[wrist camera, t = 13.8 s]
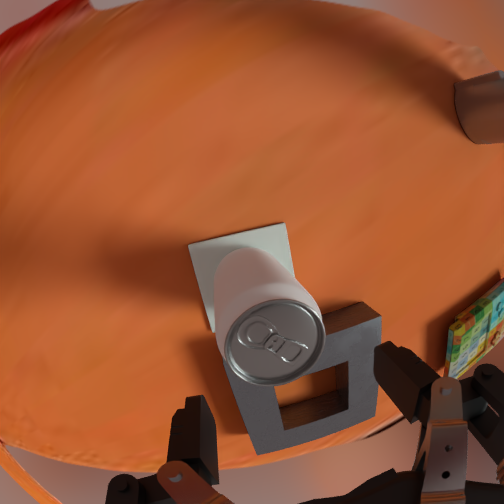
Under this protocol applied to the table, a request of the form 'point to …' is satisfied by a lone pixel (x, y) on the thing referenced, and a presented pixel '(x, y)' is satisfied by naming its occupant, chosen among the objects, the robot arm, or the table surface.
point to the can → (265, 319)
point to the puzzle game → (475, 331)
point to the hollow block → (325, 406)
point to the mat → (216, 249)
